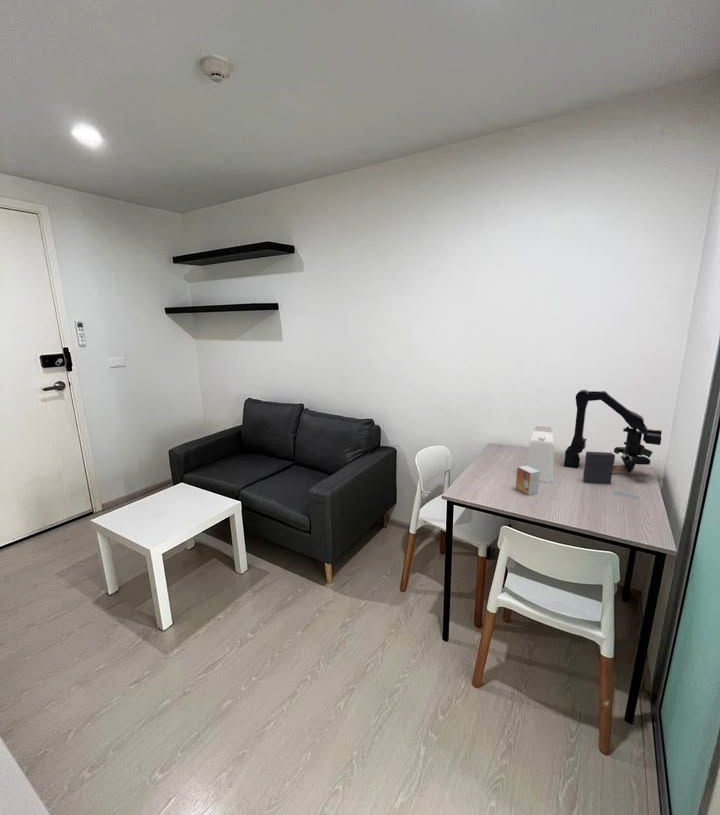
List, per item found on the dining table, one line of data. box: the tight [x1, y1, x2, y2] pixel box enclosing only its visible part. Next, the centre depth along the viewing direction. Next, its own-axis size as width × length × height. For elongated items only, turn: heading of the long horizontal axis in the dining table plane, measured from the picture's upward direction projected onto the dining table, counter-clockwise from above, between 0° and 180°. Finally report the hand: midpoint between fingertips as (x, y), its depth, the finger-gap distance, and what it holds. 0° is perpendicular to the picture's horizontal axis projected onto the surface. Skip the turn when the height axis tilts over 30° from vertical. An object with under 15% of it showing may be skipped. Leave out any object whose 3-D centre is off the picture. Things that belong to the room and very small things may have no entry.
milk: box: [526, 424, 556, 484], centre depth 192 cm, size 12×12×26 cm
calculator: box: [582, 451, 616, 485], centre depth 185 cm, size 11×4×15 cm, turn 80°
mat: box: [612, 490, 640, 499], centre depth 177 cm, size 9×13×1 cm
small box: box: [515, 465, 540, 496], centre depth 178 cm, size 8×6×10 cm
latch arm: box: [612, 464, 635, 473], centre depth 195 cm, size 23×2×5 cm, turn 89°
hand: (628, 472), depth 193 cm, fingers closed
